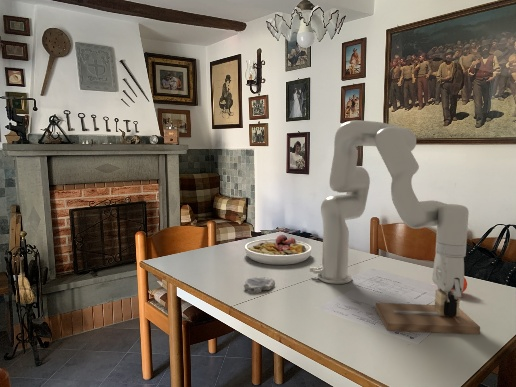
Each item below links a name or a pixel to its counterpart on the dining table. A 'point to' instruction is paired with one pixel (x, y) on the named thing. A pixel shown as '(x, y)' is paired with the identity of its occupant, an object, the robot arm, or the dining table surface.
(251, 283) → the fossil
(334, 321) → the dining table surface
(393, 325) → the board
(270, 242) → the bowl
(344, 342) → the dining table surface
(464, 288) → the clementine
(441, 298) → the block
